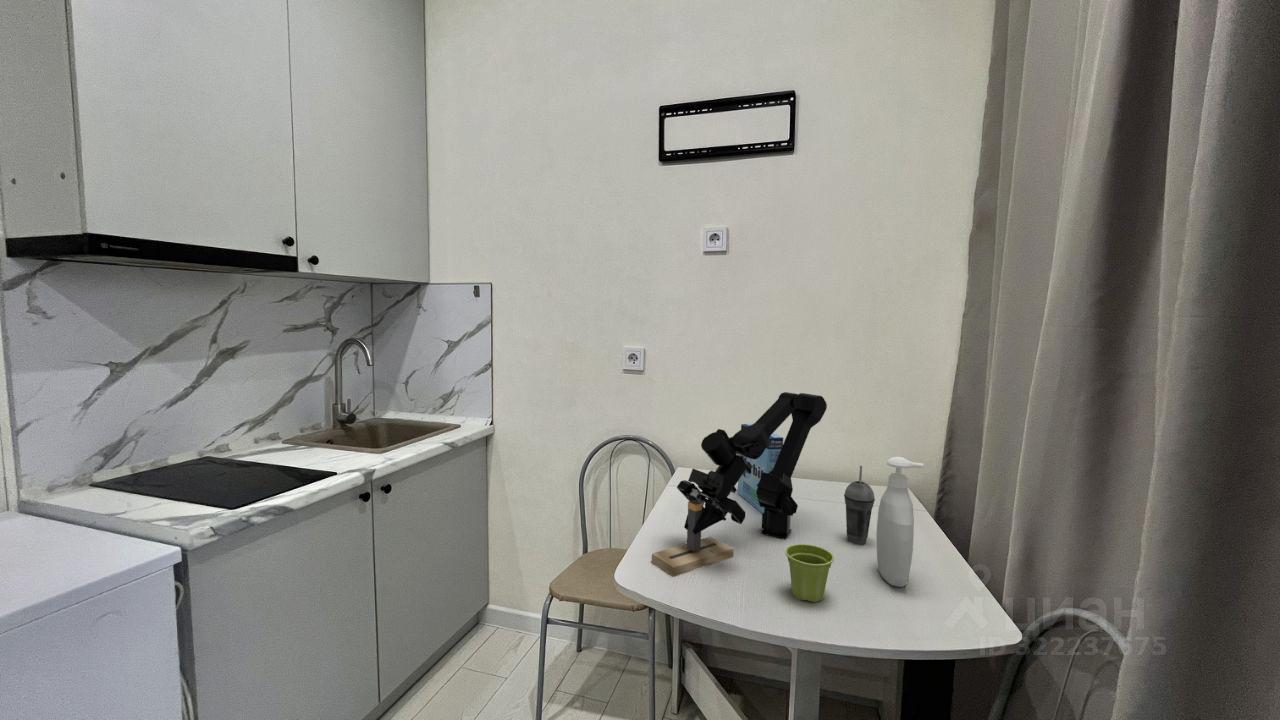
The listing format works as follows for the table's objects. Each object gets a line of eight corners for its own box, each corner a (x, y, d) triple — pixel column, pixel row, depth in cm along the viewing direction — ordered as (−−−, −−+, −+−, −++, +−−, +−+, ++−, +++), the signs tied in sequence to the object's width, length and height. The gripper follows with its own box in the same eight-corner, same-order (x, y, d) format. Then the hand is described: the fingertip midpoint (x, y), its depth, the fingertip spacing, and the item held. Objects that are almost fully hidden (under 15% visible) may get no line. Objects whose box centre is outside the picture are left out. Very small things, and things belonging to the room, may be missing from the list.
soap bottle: (927, 597, 106) (935, 467, 104) (884, 592, 108) (892, 464, 106) (905, 564, 120) (912, 450, 118) (867, 560, 122) (874, 448, 120)
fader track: (710, 544, 129) (710, 536, 129) (733, 556, 122) (733, 547, 122) (651, 562, 119) (651, 553, 118) (673, 576, 112) (673, 567, 112)
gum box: (737, 493, 168) (740, 423, 166) (751, 492, 169) (754, 423, 167) (764, 515, 149) (767, 437, 147) (780, 514, 150) (784, 436, 148)
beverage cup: (872, 538, 135) (877, 463, 133) (872, 549, 128) (876, 470, 127) (842, 533, 138) (846, 459, 136) (840, 543, 131) (844, 466, 130)
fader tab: (693, 545, 122) (694, 500, 121) (700, 549, 120) (702, 503, 119) (686, 547, 121) (687, 501, 120) (693, 551, 119) (695, 505, 118)
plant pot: (807, 611, 100) (809, 568, 99) (773, 588, 108) (775, 548, 107) (842, 600, 104) (844, 558, 103) (807, 579, 112) (809, 540, 112)
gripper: (683, 447, 129) (646, 499, 123) (738, 466, 113) (698, 525, 108) (706, 474, 134) (671, 524, 128) (761, 495, 118) (724, 553, 113)
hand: (689, 530), depth 119 cm, fingers closed on fader tab, 2 cm apart
